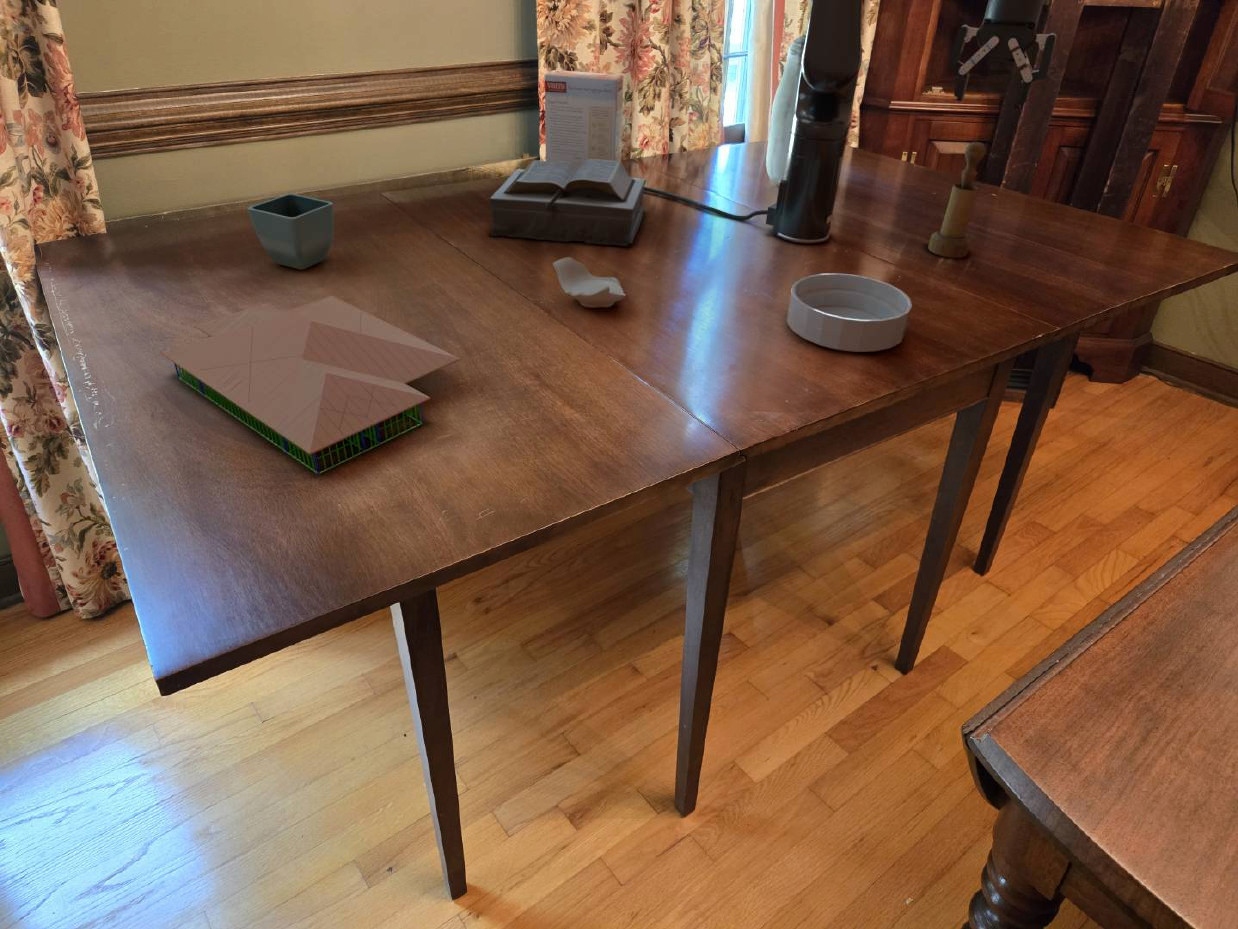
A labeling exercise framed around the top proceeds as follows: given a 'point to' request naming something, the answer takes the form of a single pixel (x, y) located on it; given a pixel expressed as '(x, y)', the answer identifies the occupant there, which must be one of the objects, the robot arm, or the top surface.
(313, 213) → the flower pot
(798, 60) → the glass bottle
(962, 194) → the mortar and pestle
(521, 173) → the bible
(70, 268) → the top surface
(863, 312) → the pan
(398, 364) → the house
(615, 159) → the cracker box
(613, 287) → the pottery shard
